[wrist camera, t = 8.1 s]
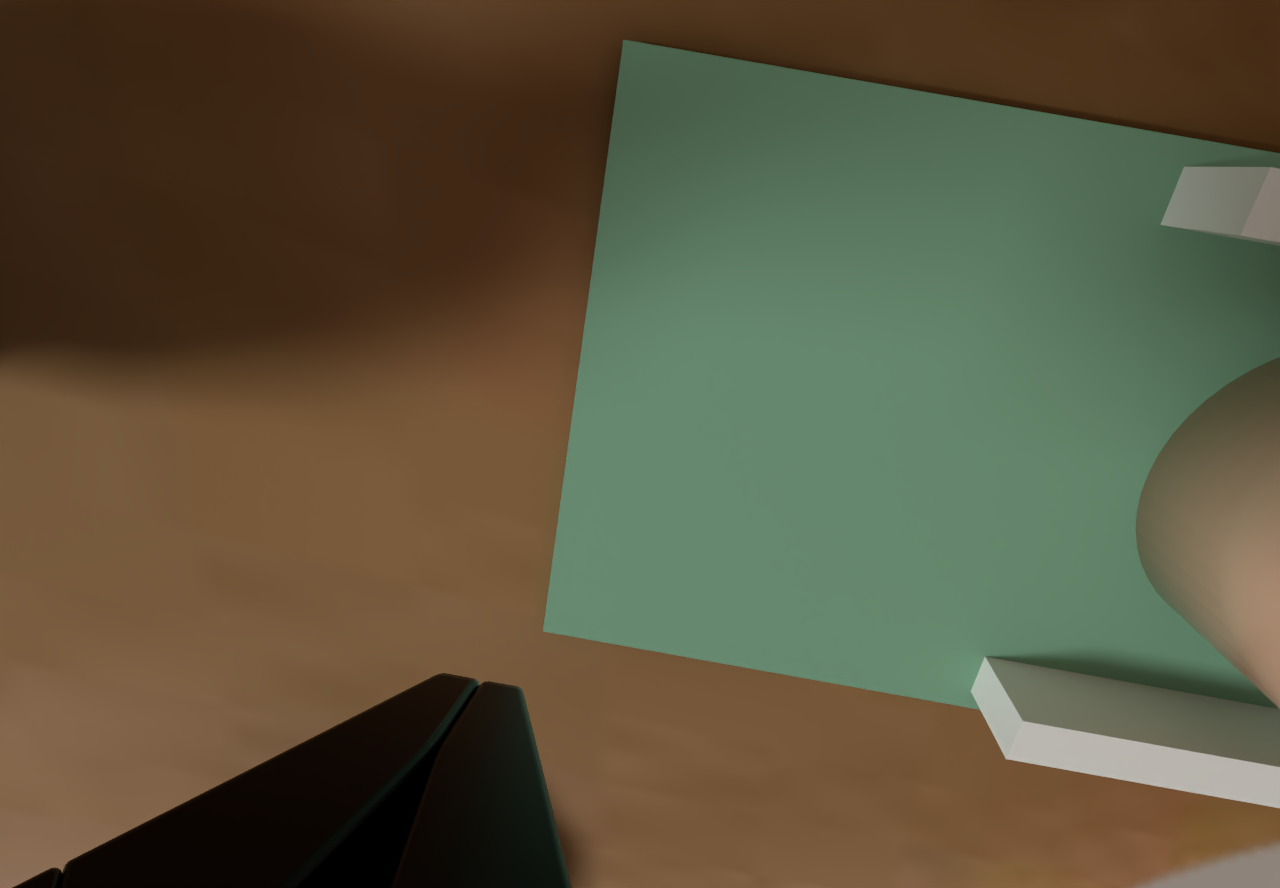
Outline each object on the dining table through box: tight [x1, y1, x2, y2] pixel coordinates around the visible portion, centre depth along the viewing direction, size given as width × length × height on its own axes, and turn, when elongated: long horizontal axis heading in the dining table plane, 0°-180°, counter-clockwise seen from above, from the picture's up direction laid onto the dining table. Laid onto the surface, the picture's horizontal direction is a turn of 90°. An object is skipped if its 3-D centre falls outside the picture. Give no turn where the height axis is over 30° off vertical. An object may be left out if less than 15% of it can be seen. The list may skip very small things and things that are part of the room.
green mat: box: [543, 40, 1280, 710], centre depth 18 cm, size 25×15×1 cm, turn 81°
